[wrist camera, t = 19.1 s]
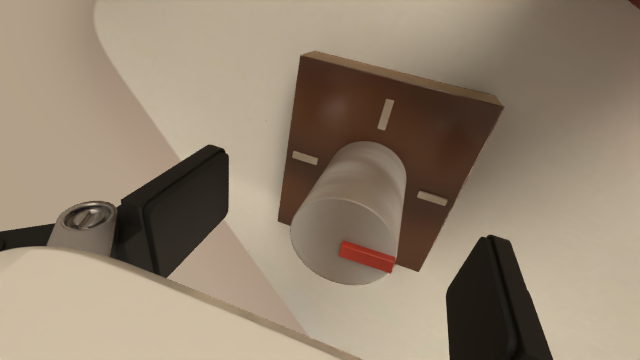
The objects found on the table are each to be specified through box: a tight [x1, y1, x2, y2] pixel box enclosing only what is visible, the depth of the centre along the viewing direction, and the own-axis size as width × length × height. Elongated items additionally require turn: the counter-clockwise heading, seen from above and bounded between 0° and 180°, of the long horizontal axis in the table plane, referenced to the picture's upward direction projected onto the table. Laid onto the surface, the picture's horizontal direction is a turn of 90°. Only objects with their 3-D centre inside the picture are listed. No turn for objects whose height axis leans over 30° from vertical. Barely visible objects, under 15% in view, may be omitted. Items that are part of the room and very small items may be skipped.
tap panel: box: [278, 51, 504, 272], centre depth 16 cm, size 10×9×2 cm
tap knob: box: [290, 141, 406, 285], centre depth 13 cm, size 4×4×6 cm
